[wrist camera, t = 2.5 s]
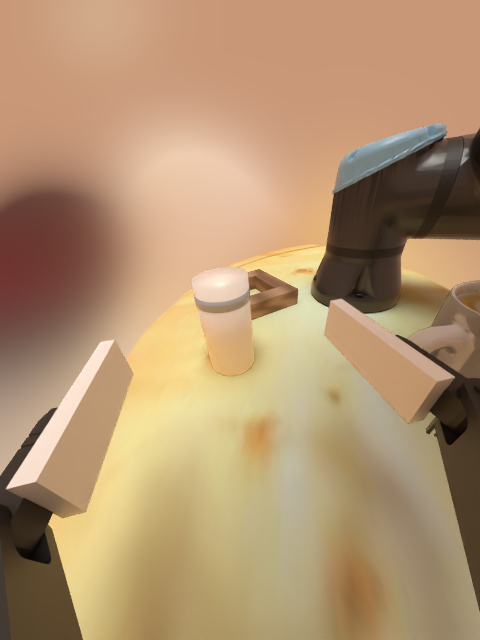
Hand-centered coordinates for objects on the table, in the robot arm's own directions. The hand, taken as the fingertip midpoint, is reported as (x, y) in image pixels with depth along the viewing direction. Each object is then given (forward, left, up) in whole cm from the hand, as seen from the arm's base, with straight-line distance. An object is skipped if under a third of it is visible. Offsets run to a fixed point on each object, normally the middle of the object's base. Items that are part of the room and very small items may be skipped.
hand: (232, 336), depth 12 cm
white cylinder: (-3, -10, -12) cm, 16 cm away
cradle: (-13, -24, -12) cm, 30 cm away
